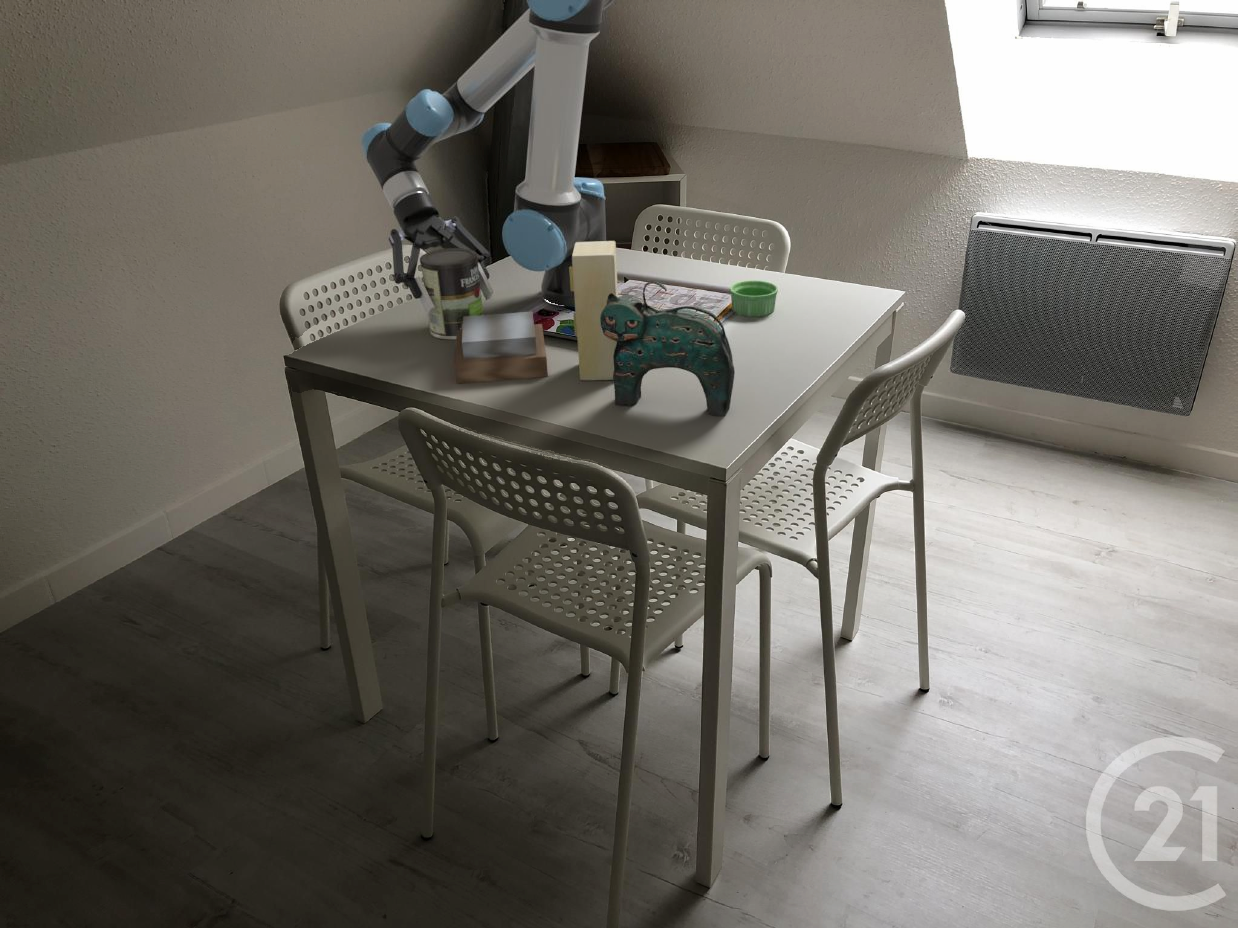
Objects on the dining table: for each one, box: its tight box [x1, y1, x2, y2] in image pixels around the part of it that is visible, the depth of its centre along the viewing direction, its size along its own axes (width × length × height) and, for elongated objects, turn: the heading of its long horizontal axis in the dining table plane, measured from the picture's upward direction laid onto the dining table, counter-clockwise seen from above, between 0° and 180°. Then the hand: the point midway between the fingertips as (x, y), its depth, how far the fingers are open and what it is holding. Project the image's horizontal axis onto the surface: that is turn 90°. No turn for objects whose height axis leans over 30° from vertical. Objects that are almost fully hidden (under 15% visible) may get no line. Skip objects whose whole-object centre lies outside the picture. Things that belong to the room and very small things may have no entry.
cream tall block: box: [569, 240, 619, 381], centre depth 157 cm, size 8×7×21 cm
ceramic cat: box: [600, 280, 735, 417], centre depth 145 cm, size 20×6×20 cm, turn 71°
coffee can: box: [419, 248, 484, 341], centre depth 178 cm, size 10×10×14 cm
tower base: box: [454, 311, 549, 384], centre depth 165 cm, size 15×15×6 cm
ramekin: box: [729, 280, 779, 318], centre depth 184 cm, size 9×9×4 cm
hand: (461, 303), depth 176 cm, fingers open, 11 cm apart
